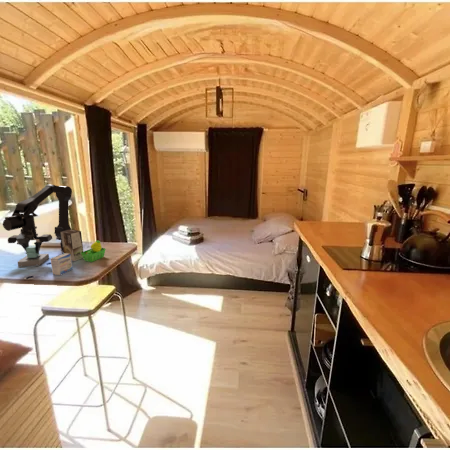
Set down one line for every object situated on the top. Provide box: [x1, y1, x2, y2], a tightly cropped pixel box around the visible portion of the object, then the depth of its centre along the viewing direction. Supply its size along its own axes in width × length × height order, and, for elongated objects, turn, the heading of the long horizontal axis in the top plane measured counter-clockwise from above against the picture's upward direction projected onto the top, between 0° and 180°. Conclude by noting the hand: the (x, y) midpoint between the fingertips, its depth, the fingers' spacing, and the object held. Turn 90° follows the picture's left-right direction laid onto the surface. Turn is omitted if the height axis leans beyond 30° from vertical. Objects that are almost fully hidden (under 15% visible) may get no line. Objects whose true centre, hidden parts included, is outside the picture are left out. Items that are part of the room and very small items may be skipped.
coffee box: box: [61, 228, 84, 262], centre depth 143 cm, size 9×6×16 cm
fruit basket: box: [81, 240, 107, 263], centre depth 143 cm, size 11×9×11 cm
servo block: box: [25, 244, 40, 258], centre depth 137 cm, size 4×7×6 cm, turn 12°
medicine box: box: [50, 252, 73, 276], centre depth 126 cm, size 8×4×9 cm, turn 168°
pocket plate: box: [17, 253, 50, 267], centre depth 138 cm, size 10×11×2 cm
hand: (33, 253), depth 137 cm, fingers closed on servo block, 4 cm apart
